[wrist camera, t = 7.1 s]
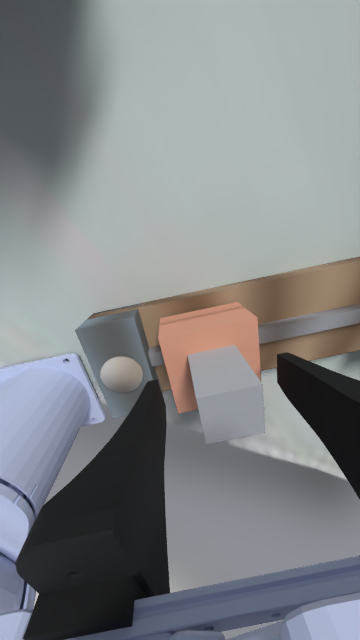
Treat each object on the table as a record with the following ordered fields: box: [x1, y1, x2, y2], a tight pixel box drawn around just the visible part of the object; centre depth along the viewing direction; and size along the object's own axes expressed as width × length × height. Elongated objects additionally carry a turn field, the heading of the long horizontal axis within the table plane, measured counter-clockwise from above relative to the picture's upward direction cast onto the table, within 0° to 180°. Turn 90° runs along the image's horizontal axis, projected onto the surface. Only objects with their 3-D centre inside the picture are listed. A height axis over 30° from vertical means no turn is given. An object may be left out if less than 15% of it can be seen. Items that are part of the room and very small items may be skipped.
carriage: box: [158, 302, 265, 444], centre depth 12 cm, size 6×6×7 cm
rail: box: [75, 257, 360, 418], centre depth 16 cm, size 27×8×4 cm, turn 101°
